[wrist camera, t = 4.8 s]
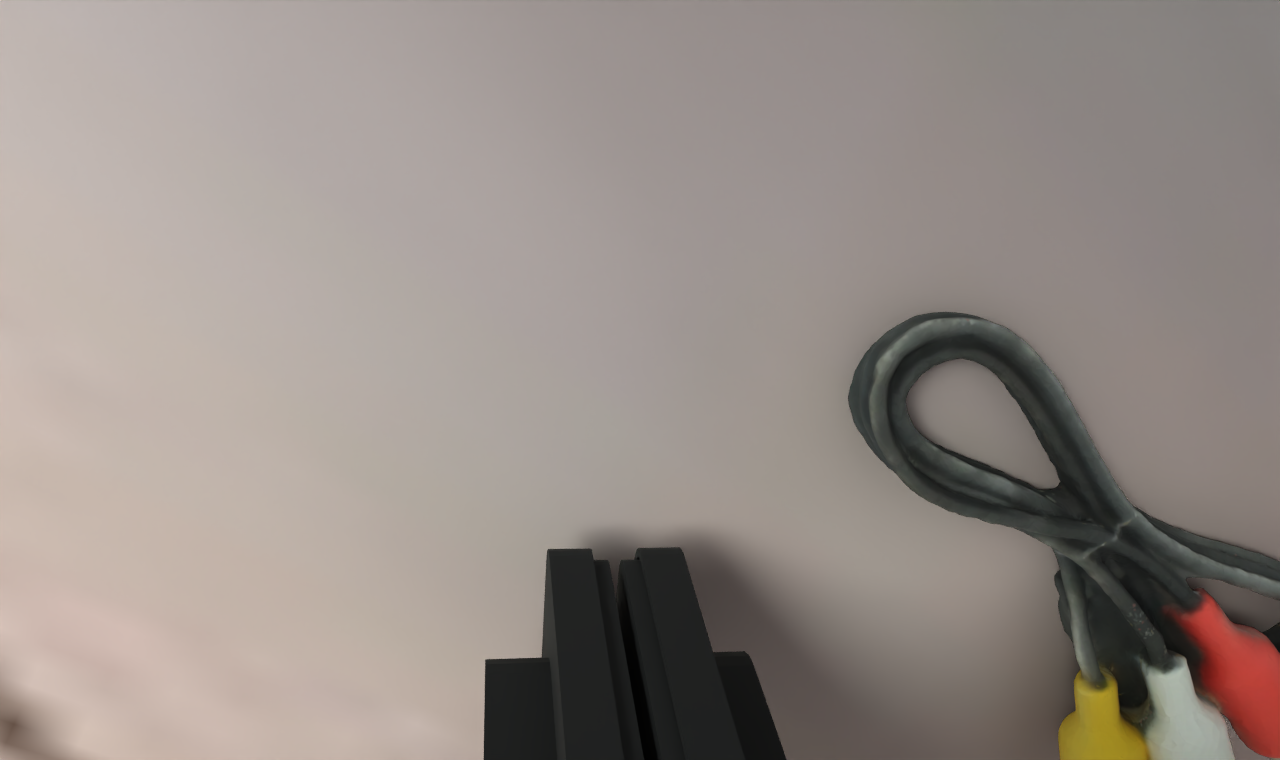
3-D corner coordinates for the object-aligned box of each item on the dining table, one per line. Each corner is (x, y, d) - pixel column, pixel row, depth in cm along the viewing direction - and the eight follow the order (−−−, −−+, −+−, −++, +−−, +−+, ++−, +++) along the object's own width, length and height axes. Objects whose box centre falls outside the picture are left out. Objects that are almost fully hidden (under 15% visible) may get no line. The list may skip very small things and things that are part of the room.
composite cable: (796, 362, 12) (864, 462, 9) (1145, 154, 11) (1305, 209, 9) (1050, 794, 16) (1138, 933, 14) (1311, 660, 15) (1448, 783, 13)
